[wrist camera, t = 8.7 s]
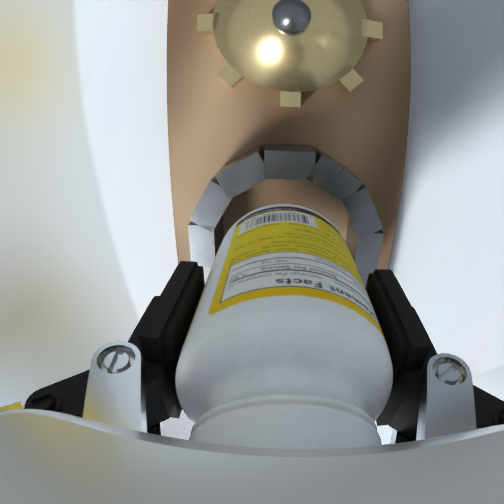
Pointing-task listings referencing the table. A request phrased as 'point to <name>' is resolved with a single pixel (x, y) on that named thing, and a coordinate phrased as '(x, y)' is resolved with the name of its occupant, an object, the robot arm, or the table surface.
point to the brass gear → (290, 43)
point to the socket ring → (290, 168)
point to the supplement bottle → (284, 340)
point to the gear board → (287, 123)
